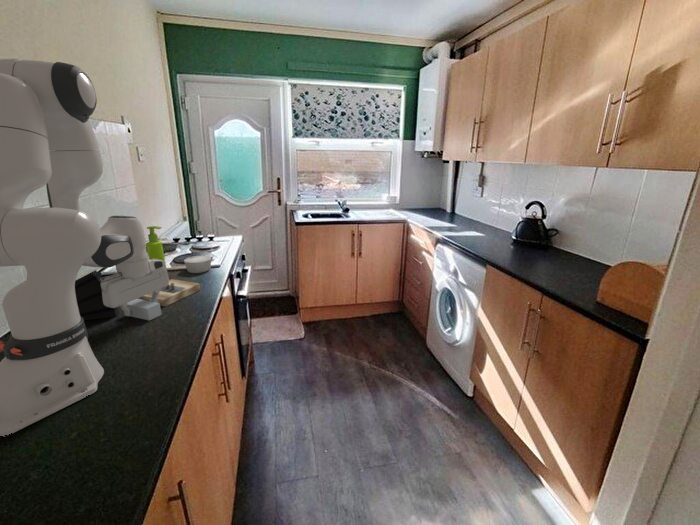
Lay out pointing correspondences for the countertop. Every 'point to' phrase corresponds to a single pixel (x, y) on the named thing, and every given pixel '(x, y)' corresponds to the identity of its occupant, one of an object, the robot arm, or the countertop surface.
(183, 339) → the countertop surface
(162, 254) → the soap dispenser
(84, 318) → the black ridged block
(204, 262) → the ramekin
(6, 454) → the countertop surface
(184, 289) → the board
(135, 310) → the block
